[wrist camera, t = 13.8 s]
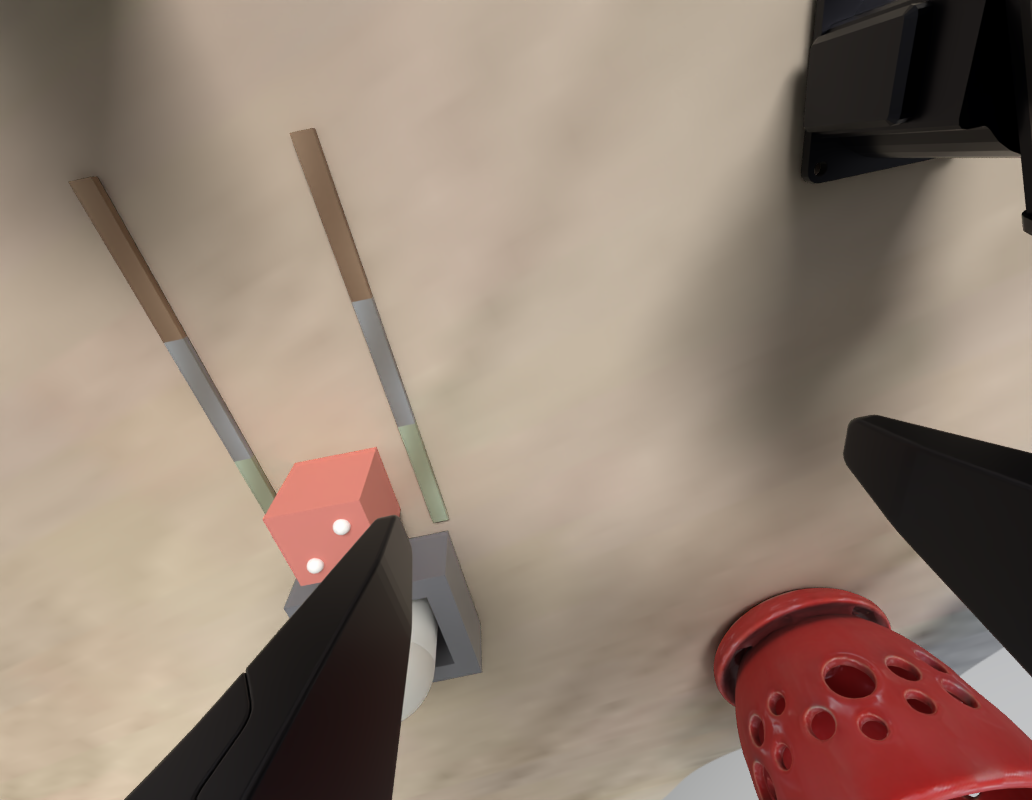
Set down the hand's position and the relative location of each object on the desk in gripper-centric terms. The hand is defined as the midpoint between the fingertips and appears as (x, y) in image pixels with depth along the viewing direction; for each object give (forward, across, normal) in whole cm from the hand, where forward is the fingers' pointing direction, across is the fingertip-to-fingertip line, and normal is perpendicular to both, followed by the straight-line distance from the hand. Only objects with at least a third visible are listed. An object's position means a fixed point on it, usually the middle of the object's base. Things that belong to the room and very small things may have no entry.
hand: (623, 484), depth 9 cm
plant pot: (+12, -13, +26) cm, 32 cm away
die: (+12, +11, +7) cm, 18 cm away
